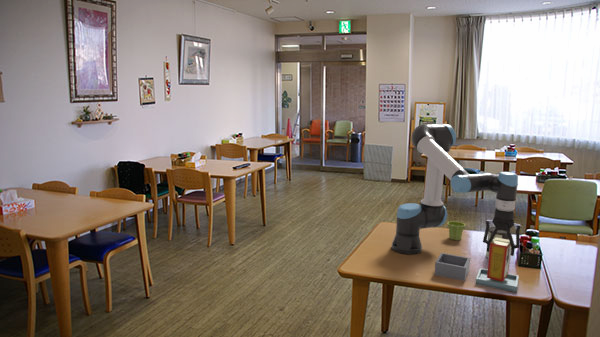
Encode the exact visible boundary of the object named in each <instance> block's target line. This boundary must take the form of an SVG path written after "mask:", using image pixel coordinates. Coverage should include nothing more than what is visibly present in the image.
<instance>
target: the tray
mask: <svg viewBox="0 0 600 337" xmlns="http://www.w3.org/2000/svg"><path fill="white" fill-rule="evenodd" d="M487 271H488V268H487V269H486V268H482V267H481V268H479V270H478V272H477V275H476V278H475V285H479V286H484V287H488V288H493V289H499V290H502V291H503V290H504V291H508V292H513V293H517V291H518V285H519V277H520V275H518V274H512V273H508V275H507V277H506V278H505V280H504V281H503V282H502V281H498V280H494V279H490V278H487Z"/></svg>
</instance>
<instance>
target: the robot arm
mask: <svg viewBox="0 0 600 337" xmlns="http://www.w3.org/2000/svg"><path fill="white" fill-rule="evenodd" d="M456 142H457V134H456V131H455V129H454V127H452V125H451V124H447V123H422V124H419V125H417V126H416V127H415V128H414V129H413V131H412V133H411V144H412V146H413V148H415V149H416V151H418V152H419V153H420V154H423V155H424V156H426V157H427V160H426V161H427V163H426V173H425V183H424V191H423V192H424V193H423V198H422V199H421V200H420V204H418V203H416V202H415V203H414V202H413V203H412V202H411V203H410V202H408V203H403V204H400V205H399V206H398V208H397V212H396V225H395V226H396V227H395V228H396V229H395V236H394V238H393V240H392V241H391V242H392V243H391V249H392V250H393V251H394V252H397V253H399V254H404V255H417V254H420V253H422V250H423V246H422V242H421V238H420V230H422V229H423V230H424V229H429V228H430V229H431V228H437V227H438V228H439V227H442V226H444V224H446V221H447V220H448V211H447V207H446V206H445V205H444V204H445V203H444V202H443V201H442V195H443V193H442V192H443V185H444V184H443V183H444V176H446V178H447V179H449V181H450V187H451V189H452V191H453V192H455V193H458V194H461V193H462V194H466V193H472V192H485V191H486V192H487V191H488V192H493V193H495V194H496V197H495V204H494V206H495V209H494V216H493V219H486V220H485V225H486V227H485V231H484V235H483V240H482V242H483V243H484V244H486V250H487V252H490V243H491V242H492V240H493V238H494V236H495V235H496V233H497V231H498V230H503V231H506V232H507V234H508V238H509V241H510V245H511V247H510V248H509V257H508V263H509V265H510V264H511V257H514V256H515V249H520V246H521V242H520V241H521V240H520V239H521V238H520V234H521V233H520V230H521V229H522V228H521V226H522V225H521V224H520V223H515V221H514V219H515V211H514V210H515V209H516V208H515V207H516V202H517V200H516V199H517V191H518V185H519V181H518V180H519V177H518V174H517V173H515V172H513V171H512V172H510V171H501V172H500V171H499V173H498V174H495V173H491V172H489V171H479V172H477V173H472V174H470V173H469V172H468V171H467V170H465V169H464V168H463V166H461V165H460V164H459V163H458V162H457V161H456V160H455V159H454V158H453V157H452V156H451V155H449V154H448V153H450V150H451V149H450V148H451V147H453V146H454V145H455V144H456ZM492 224H493V226H494V227H496V228H495V230H494V231H493V233H492V235H491V237H490V238H489V240H488V232H489V228H490V227H491V225H492ZM513 227H514V230H515V241H514V238H513V235H512V230H511V229H512V228H513ZM487 261H489V258H488V260H487Z"/></svg>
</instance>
